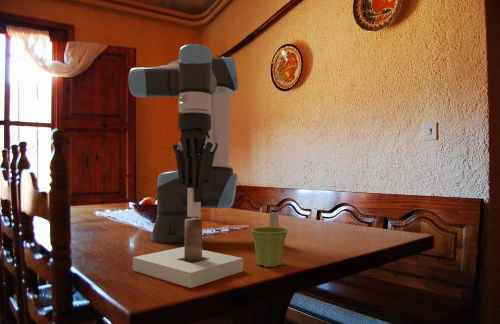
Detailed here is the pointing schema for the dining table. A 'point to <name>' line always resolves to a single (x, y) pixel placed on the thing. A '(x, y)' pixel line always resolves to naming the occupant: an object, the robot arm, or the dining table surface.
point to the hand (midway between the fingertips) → (193, 216)
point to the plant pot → (269, 245)
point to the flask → (274, 220)
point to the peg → (193, 240)
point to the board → (187, 267)
